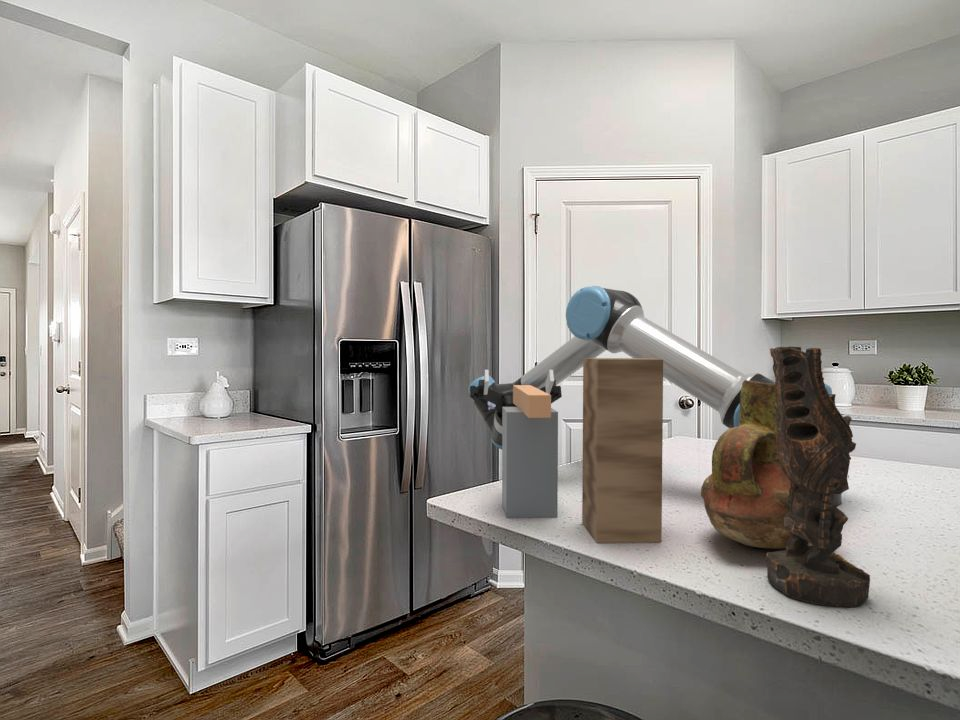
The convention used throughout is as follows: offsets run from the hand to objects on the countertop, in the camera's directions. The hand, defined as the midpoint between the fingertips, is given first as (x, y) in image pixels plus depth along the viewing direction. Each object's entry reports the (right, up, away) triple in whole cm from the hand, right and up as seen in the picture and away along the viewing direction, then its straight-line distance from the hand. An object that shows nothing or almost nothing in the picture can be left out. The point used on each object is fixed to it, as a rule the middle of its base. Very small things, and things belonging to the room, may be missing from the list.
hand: (519, 375), depth 119 cm
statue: (+33, -25, -48) cm, 64 cm away
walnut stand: (+14, -25, -27) cm, 39 cm away
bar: (+1, -6, -15) cm, 16 cm away
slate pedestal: (+1, -24, -15) cm, 28 cm away
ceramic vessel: (+35, -25, -32) cm, 54 cm away
